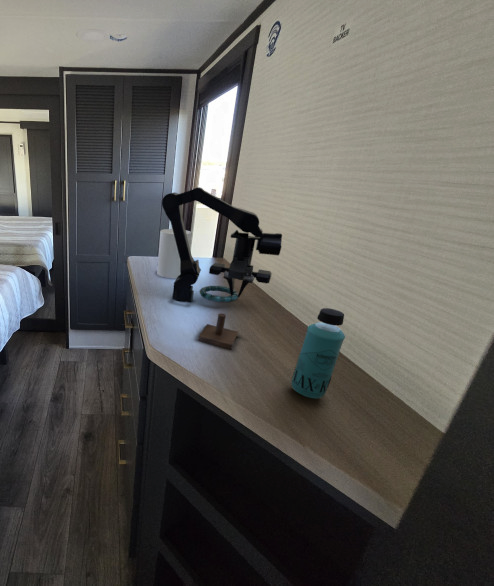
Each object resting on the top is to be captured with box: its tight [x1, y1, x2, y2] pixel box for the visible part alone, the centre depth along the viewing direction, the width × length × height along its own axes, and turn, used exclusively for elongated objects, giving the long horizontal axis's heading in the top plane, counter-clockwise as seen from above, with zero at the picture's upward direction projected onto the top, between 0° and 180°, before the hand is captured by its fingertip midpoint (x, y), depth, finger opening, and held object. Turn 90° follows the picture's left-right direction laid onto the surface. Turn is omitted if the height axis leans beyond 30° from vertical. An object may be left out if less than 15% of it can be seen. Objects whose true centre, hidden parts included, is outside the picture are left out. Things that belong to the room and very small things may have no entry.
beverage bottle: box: [290, 307, 346, 399], centre depth 64 cm, size 6×7×20 cm
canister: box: [156, 228, 192, 280], centre depth 143 cm, size 14×14×20 cm
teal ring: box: [198, 285, 239, 303], centre depth 110 cm, size 13×13×2 cm
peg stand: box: [197, 312, 239, 350], centre depth 89 cm, size 9×9×8 cm
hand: (235, 296), depth 108 cm, fingers closed on teal ring, 2 cm apart
